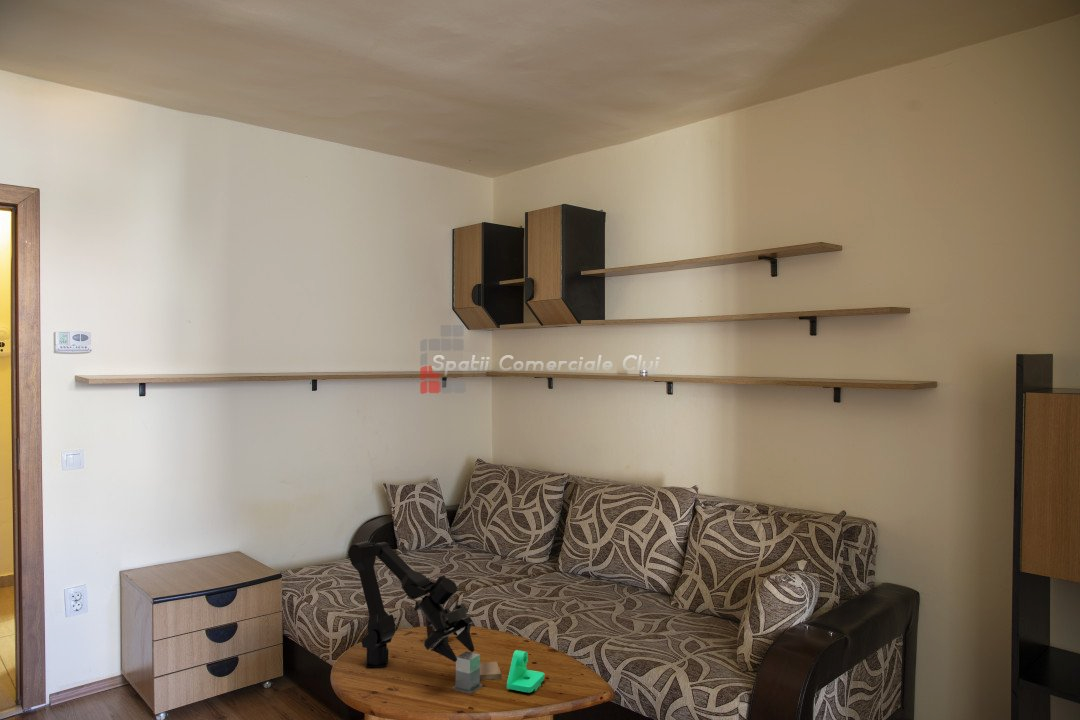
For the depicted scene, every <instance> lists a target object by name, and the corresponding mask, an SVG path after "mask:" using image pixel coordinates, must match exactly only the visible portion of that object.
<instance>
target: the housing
mask: <svg viewBox="0 0 1080 720" xmlns="http://www.w3.org/2000/svg"><path fill="white" fill-rule="evenodd" d="M456 658H457V661H456V662H455V685H454V686H452V688H451V689H452V690H453V691H458V692H462V693H465V694H468V695H472V694H473V693H475V692H476V691H477V690H480V688H482V687H483V685H484V684H483V683H481V682H480V681H481V680H480V663H481V654H480V653H476V652H471V651H465V652H463V653H461V654H459V655H457V656H456Z"/></svg>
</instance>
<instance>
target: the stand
mask: <svg viewBox="0 0 1080 720" xmlns="http://www.w3.org/2000/svg"><path fill="white" fill-rule="evenodd" d="M499 679H502V672H501V669H500V667H499V665H498V661H486V662H485V661H484V662H483V661H482V662H480V681H484V680H499Z"/></svg>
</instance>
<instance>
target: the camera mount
mask: <svg viewBox="0 0 1080 720" xmlns="http://www.w3.org/2000/svg"><path fill="white" fill-rule="evenodd" d="M528 661H529V653H528V651H524V650H520V649H519V650H518V649H515V650H514V652H513V654H512V659H511V663H510V667H509V673H508V677H507V682H506V689H507V690H513V691H519V692H523V693H532V692H536V691H537V690H538V689H539V688H540V687H541V686H542V683H543V681H545V673H544V672H542V671H536V670H531V669H530V670H529V669H528V667H527V664H528ZM539 686H540V687H539ZM538 687H539V688H538ZM537 688H538V689H537Z"/></svg>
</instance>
